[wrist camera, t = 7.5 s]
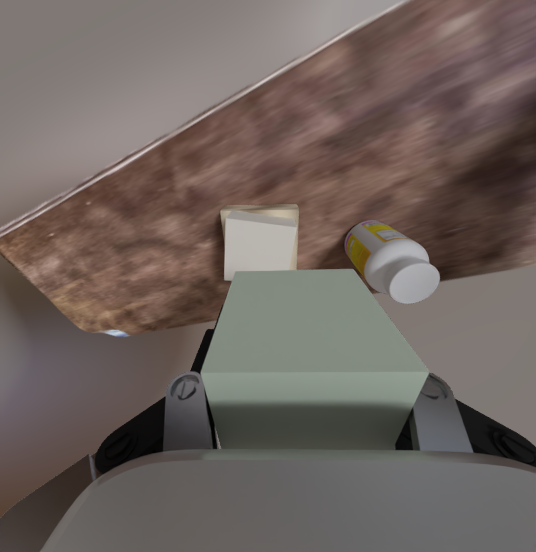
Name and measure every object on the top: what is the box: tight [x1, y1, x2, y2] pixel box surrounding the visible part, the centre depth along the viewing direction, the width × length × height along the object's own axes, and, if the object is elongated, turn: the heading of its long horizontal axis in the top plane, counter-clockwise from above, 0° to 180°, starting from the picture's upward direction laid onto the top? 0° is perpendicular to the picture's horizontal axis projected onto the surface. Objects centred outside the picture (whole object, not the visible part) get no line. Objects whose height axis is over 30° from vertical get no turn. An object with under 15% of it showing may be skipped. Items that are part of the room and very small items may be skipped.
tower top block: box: [224, 210, 297, 281], centre depth 27 cm, size 8×8×4 cm
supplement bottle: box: [344, 220, 440, 304], centre depth 27 cm, size 7×7×13 cm
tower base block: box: [220, 204, 299, 270], centre depth 31 cm, size 10×10×4 cm
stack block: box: [201, 269, 429, 450], centre depth 10 cm, size 6×6×6 cm
